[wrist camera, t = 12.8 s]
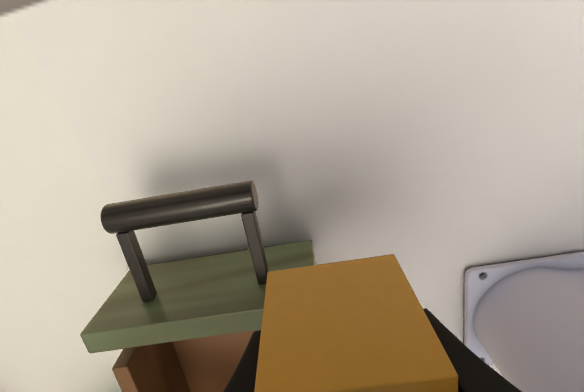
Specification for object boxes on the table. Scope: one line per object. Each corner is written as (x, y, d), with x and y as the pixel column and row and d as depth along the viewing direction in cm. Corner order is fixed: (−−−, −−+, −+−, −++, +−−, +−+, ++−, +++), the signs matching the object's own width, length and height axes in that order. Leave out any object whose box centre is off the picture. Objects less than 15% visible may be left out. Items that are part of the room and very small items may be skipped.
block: (394, 253, 12) (459, 376, 7) (400, 351, 14) (457, 504, 9) (267, 271, 12) (252, 400, 8) (287, 366, 14) (286, 521, 9)
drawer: (99, 186, 20) (29, 233, 14) (297, 153, 19) (298, 189, 14) (190, 419, 26) (165, 510, 21) (339, 400, 26) (352, 489, 20)
